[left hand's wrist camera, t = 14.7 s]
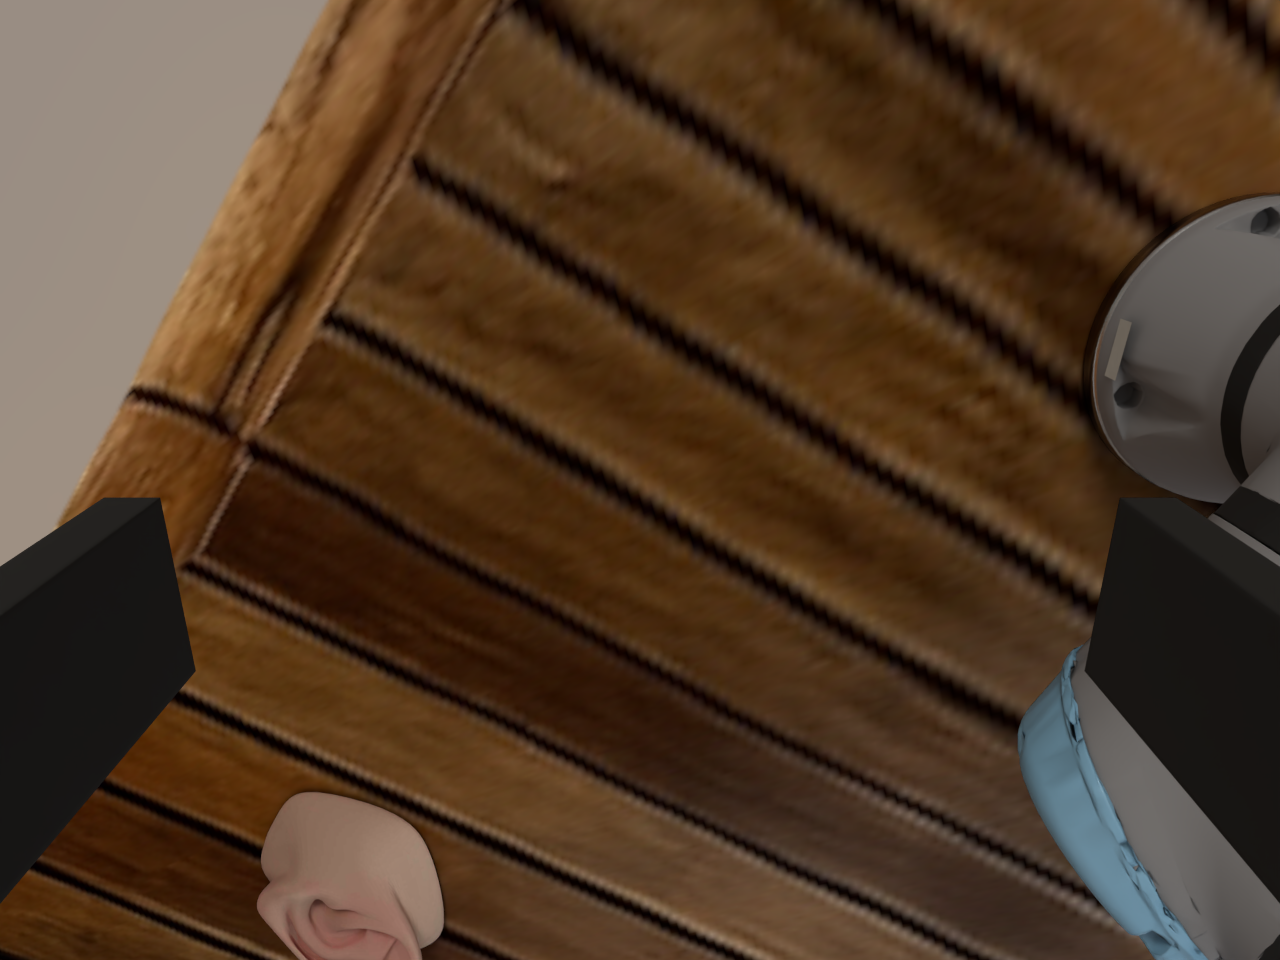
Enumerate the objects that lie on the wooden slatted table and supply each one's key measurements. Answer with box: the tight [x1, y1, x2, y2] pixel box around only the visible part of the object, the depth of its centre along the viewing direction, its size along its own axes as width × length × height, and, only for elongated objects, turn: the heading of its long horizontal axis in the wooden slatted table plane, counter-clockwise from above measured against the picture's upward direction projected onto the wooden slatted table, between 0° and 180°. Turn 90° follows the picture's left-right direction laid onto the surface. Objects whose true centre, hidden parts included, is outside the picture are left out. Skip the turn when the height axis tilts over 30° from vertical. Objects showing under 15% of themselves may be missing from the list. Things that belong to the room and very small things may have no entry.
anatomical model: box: [257, 792, 444, 960], centre depth 56 cm, size 13×4×12 cm
